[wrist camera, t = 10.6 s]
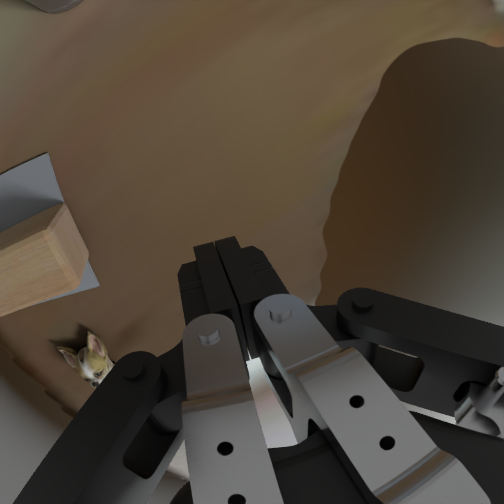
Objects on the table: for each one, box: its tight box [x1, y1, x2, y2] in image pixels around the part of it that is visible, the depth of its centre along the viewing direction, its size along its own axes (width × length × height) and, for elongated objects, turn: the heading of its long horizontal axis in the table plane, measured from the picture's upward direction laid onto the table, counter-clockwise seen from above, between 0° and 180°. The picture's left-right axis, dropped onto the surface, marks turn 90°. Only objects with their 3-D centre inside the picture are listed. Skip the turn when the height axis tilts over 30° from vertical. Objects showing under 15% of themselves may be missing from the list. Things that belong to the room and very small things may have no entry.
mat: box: [0, 153, 100, 306], centre depth 39 cm, size 24×22×1 cm
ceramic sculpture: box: [57, 330, 115, 388], centre depth 52 cm, size 11×9×15 cm
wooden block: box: [0, 203, 89, 317], centre depth 36 cm, size 10×10×20 cm
